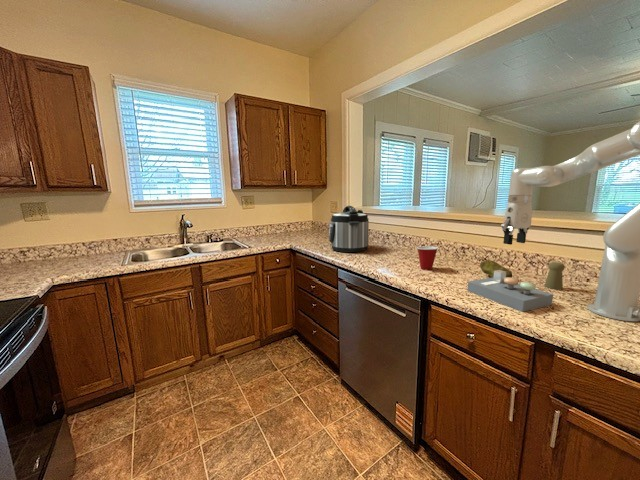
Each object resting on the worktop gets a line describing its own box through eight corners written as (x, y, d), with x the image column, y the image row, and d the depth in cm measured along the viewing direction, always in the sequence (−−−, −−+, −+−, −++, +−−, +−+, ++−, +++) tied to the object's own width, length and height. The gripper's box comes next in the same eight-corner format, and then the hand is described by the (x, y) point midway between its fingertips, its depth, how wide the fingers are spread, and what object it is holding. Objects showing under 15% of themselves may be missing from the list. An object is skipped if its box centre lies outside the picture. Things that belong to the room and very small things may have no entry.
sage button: (537, 297, 97) (538, 285, 96) (529, 298, 95) (530, 286, 95) (524, 292, 101) (525, 281, 100) (516, 294, 99) (517, 282, 99)
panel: (551, 304, 98) (553, 293, 97) (522, 311, 92) (523, 300, 92) (494, 285, 118) (495, 276, 117) (467, 290, 113) (468, 281, 112)
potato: (503, 282, 122) (505, 265, 120) (476, 275, 133) (477, 259, 132) (514, 280, 125) (516, 263, 124) (486, 273, 137) (488, 257, 135)
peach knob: (519, 291, 102) (521, 280, 102) (511, 293, 101) (513, 281, 100) (508, 287, 106) (509, 276, 106) (500, 289, 105) (501, 278, 104)
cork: (544, 284, 119) (547, 260, 118) (562, 287, 116) (566, 262, 114) (544, 288, 115) (547, 263, 113) (563, 291, 111) (567, 265, 109)
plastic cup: (427, 265, 152) (428, 244, 150) (441, 270, 142) (442, 248, 140) (411, 266, 149) (412, 245, 147) (424, 272, 139) (425, 249, 137)
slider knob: (505, 281, 110) (506, 271, 110) (500, 282, 109) (501, 272, 109) (498, 279, 113) (499, 269, 112) (493, 279, 112) (494, 270, 111)
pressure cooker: (339, 244, 216) (339, 204, 211) (373, 247, 203) (374, 205, 198) (322, 251, 190) (321, 206, 185) (360, 255, 177) (361, 207, 172)
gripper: (514, 200, 101) (508, 246, 104) (543, 199, 107) (537, 243, 110) (495, 200, 108) (490, 243, 111) (524, 199, 114) (519, 240, 117)
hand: (514, 243), depth 111 cm, fingers open, 7 cm apart
